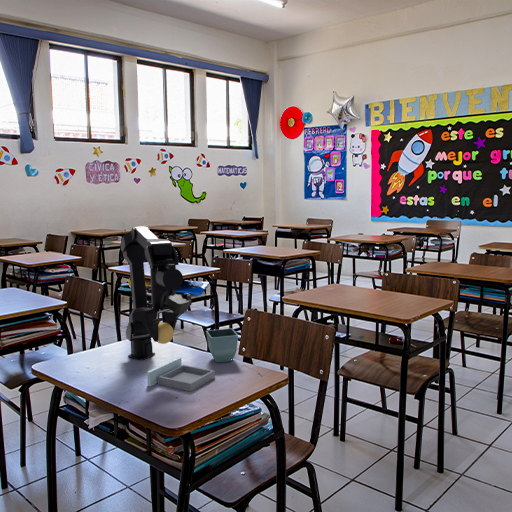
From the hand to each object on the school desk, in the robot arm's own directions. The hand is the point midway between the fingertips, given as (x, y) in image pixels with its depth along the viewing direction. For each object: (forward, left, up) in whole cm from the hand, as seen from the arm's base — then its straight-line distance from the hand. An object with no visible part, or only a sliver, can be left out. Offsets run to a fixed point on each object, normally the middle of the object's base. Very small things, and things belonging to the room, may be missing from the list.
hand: (163, 338), depth 142 cm
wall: (0, 0, -12) cm, 12 cm away
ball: (0, 0, -1) cm, 1 cm away
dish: (+7, +1, -12) cm, 14 cm away
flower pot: (+6, +21, -12) cm, 25 cm away
